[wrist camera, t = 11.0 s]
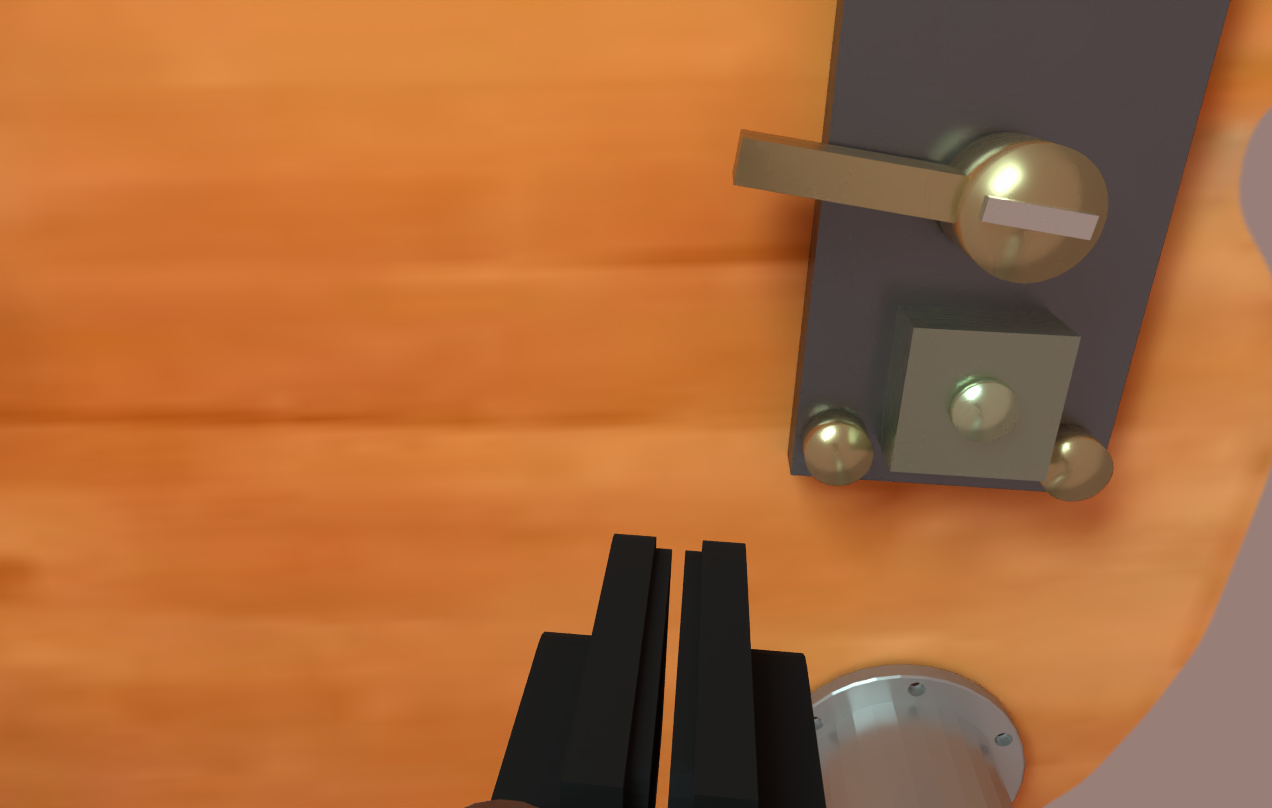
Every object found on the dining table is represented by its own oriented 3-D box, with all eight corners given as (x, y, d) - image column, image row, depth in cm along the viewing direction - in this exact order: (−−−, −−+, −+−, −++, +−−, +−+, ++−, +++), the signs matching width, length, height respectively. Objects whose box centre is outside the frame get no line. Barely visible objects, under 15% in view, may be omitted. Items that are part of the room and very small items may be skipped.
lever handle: (1081, 143, 31) (1137, 159, 27) (1038, 265, 33) (1084, 297, 29) (749, 86, 31) (753, 93, 27) (724, 210, 33) (725, 235, 29)
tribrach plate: (1076, 473, 39) (1131, 539, 33) (787, 454, 40) (797, 516, 34) (1222, -82, 30) (1326, -107, 25) (846, -89, 31) (872, -115, 26)
